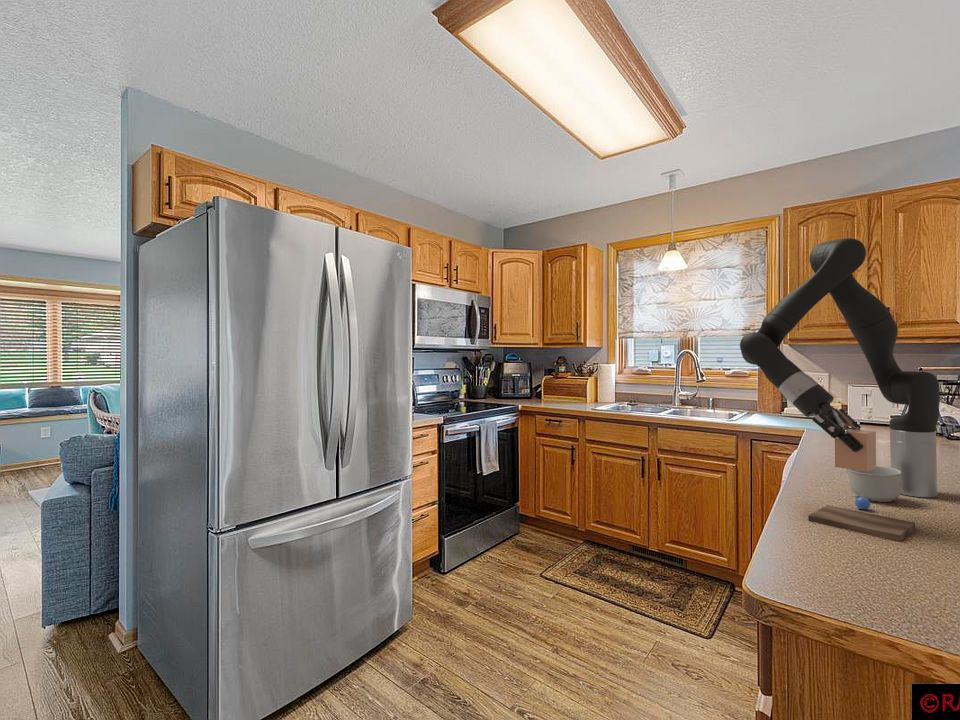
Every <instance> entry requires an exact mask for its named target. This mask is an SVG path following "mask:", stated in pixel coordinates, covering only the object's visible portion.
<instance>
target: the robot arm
mask: <svg viewBox="0 0 960 720" xmlns="http://www.w3.org/2000/svg"><path fill="white" fill-rule="evenodd" d="M866 257H867V250H866V247H865V245H864V243H863V242H862V241H860V240H859V239H857V238H840V239H839V238H838V239H835V240H829V241H825V242H821V243H819V244H816V245H815V246H814V247H812V250H811V251H810V254H809V257H808V259H809V264H810V267H811V269H812V272H813V273H814V274H813V275H812V276H811V277H809V278H808V279H807V280H806V281H805V282H803V283H802V284H800V285H799V286H798V287H796V288H795V289H794V290H792V291H791V292H789V293H788V294H786V295H785V296H784V297H783V298H781V300H780V301H778V302H777V304H776V305H775V306H774V307H773V308H772V309H771V310H770V311H769V313H768V314H767V315H766V316H765V317H764V318H763V320H762V322H761V326H760V328H759V329H758V331H755V332H749V333H747V334H745V335H743V337H742V338H741V339H740V342H739V348H740V349H739V350H740V352H741V357H742V358H743V360H744V361H745V362H746V363H748V364H750V365H753V366H754V365H755V366H757V367H758V368H759V369H760V370H762V372H763V375H764V376H765V377H766V379H767V380H768V381H769V382H771V384H772V385H773V386H774V387H775V388H776V389H778V391H779V392H780V393H781V394H782V395H783V396H784V398H786V400H788V401H789V402H790V403H791V404H792V405H793V406H794V407H795V408H796V409H797V410H798V411H799V412H800V413H801V414H802V415H803V416H805V417H806V418H810V417H812V418H811V420H812V422H814V423H815V424H816V425H817V426H819V428H821V429H822V430H823V431H824V432H825V433H826V434H828V436H830V437H831V438H833V439H835V438H837V439H839V440H840V439H841V440H842V441H843V442H844V443H845V444H846V445H847V446H848V447H849V448H850V449H851V450H852V451H854V452H857V451H859V450H860V449H862V448H863V445H862V444H861V443H860V442H859V441H858V440H857V439H855V438H854V437H853V436H852V435H851V434H849V432H848V431H847V430H846V429H856V430H861V428H862V426H861V425H860V424H859V423H858V422H856V421H855V419H853V418H852V417H851V416H850V415H849V414H848V413H847V412H846V411H845V410H844V409H842V408H840V409H838V408H834V406H832V405H831V403H832V402H834V399H835V398H834V396H833V395H832V394H831V393H830V392H829V391H827V390H826V388H824V387H823V386H822V385H821V384H819V382H817V381H816V380H815V379H813V377H811V376H810V375H808V374H807V373H805V372H804V371H803V370H802V369H801V368H800V367H799V366H797V365H796V364H795V363H794V362H793V361H791V360H790V359H789V358H788V357H787V356H786V355H785V354H784V352H782V351H781V349H780V348H779V347H780V345H781V344H782V342H783V341H784V339H785V338H786V336H788V334H789V333H790V332H792V330H794V328H795V327H796V326H797V325H798V323H799V322H800V321H801V320H802V319H803V318H804V316H806V315H807V314H808V313H809V311H811V310H812V309H813V308H814V307H815V306H816V304H818V303H819V302H820V301H821V300H822V299H824V298H825V296H827V295H828V294H829V295H830V296H831V297H832V300H833V301H834V302H835V305H836V306H837V308H838V310H839V311H840V314H841V315H842V317H843V318H844V321H845V322H846V324H847V326H848V328H849V330H850V332H851V334H852V336H853V337H854V339H855V340H856V342H857V344H858V346H859V347H860V349H861V351H862V352H863V354H864V357H865V359H866V360H867V362H868V364H869V366H870V369H871V372H872V374H873V377H874V380H875V381H876V384H877V386H878V388H879V391H880V392H881V395H882V396H883V397H884V399H885V400H887V402H889V403H891V404H897V405H906V406H907V405H908V408H907V412H906V413H905V414H902V415H899V416H895V417H893V418H890V419H889V444H890V445H889V449H890V450H889V451H890V452H889V453H890V456H889V457H890V468H894V469H897V470H899V471H901V494H900V495H903V496H909V497H910V496H911V497H915V498H916V497H918V498H937V497H938V462H937V461H938V459H937V458H938V456H937V425H938V422H939V417H940V398H941V397H940V395H941V389H940V383H939V380H938V378H937V377H936V376H935V375H934V374H933V373H931V372H927V371H917V370H916V371H912V370H911V371H906V370H905V371H904V370H902V369H901V367H899V365H898V363H897V361H896V359H895V356H894V349H895V346H896V341H897V338H898V333H899V332H898V331H899V330H898V325H897V324H896V321H895V319H894V317H893V315H892V314H891V312H890V310H889V309H888V307H887V306H886V305H885V303H883V302H882V301H881V299H879V298H878V297H877V296H875V295H874V294H873V293H871V292H870V291H868V289H866V288H865V287H864V286H862V285H861V284H860V283H859V281H857V280H856V278H855V277H854V274H853V273H855V272H856V271H857V270H858V269H859V268H860V267H861V266H862V265H863V263H864V262H865V260H866Z"/></svg>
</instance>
